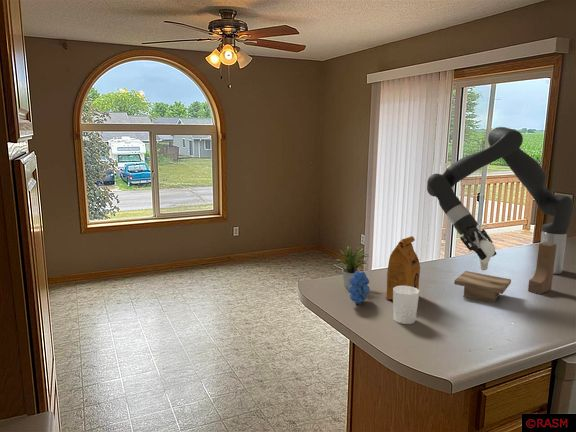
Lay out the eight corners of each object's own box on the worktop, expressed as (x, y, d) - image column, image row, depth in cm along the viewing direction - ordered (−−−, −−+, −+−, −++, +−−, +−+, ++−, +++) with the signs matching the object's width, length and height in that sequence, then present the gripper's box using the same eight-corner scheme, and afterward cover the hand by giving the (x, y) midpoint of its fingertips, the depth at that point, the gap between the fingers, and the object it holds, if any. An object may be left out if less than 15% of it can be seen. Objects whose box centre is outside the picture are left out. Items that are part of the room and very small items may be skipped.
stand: (464, 285, 168) (465, 270, 167) (509, 294, 159) (511, 279, 158) (453, 295, 157) (454, 280, 156) (501, 306, 148) (502, 289, 147)
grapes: (360, 311, 142) (361, 277, 140) (343, 306, 147) (344, 272, 145) (377, 301, 151) (379, 269, 149) (361, 297, 155) (362, 265, 153)
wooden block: (539, 294, 159) (545, 247, 156) (527, 291, 163) (532, 244, 159) (551, 289, 164) (557, 244, 161) (539, 286, 168) (544, 241, 164)
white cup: (389, 322, 134) (391, 292, 132) (393, 313, 141) (395, 284, 140) (415, 327, 131) (417, 295, 130) (418, 317, 139) (420, 287, 137)
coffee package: (423, 296, 157) (427, 237, 153) (407, 306, 147) (411, 243, 143) (398, 289, 163) (401, 233, 159) (381, 298, 154) (384, 239, 150)
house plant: (360, 296, 156) (362, 252, 153) (326, 289, 163) (327, 247, 160) (374, 285, 168) (376, 244, 165) (342, 278, 175) (343, 239, 172)
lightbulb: (470, 267, 159) (473, 238, 157) (487, 267, 160) (489, 238, 158) (479, 273, 153) (482, 243, 151) (496, 272, 154) (499, 242, 151)
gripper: (458, 215, 154) (487, 254, 147) (479, 211, 163) (507, 248, 156) (443, 227, 159) (471, 265, 152) (464, 222, 168) (491, 259, 161)
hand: (489, 256), depth 154 cm, fingers closed on lightbulb, 6 cm apart
